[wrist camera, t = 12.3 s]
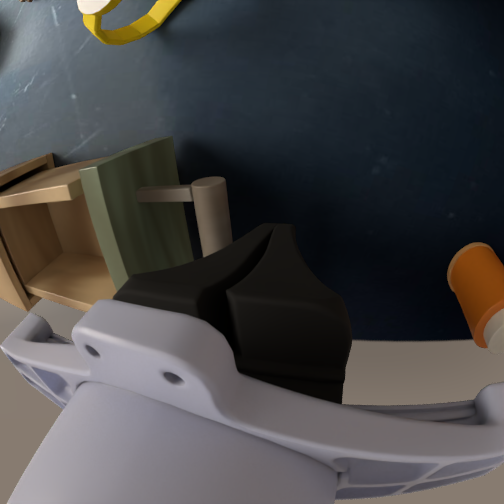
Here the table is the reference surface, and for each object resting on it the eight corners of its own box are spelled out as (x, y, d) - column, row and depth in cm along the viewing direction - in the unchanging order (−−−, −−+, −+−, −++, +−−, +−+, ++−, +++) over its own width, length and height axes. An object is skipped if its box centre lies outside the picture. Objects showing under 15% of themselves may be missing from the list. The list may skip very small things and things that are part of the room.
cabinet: (52, 152, 18) (-24, 189, 12) (83, 259, 23) (28, 312, 17) (-7, 174, 22) (-56, 203, 15) (18, 250, 27) (-23, 285, 20)
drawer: (247, 129, 13) (194, 154, 8) (259, 279, 18) (229, 355, 13) (41, 163, 18) (-16, 193, 13) (71, 258, 23) (27, 298, 17)
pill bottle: (464, 303, 15) (488, 370, 11) (440, 271, 15) (469, 342, 10) (503, 270, 13) (539, 332, 8) (483, 234, 13) (528, 295, 8)
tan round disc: (461, 301, 16) (463, 305, 16) (436, 269, 15) (438, 272, 15) (502, 268, 14) (504, 271, 13) (481, 230, 13) (483, 232, 13)
